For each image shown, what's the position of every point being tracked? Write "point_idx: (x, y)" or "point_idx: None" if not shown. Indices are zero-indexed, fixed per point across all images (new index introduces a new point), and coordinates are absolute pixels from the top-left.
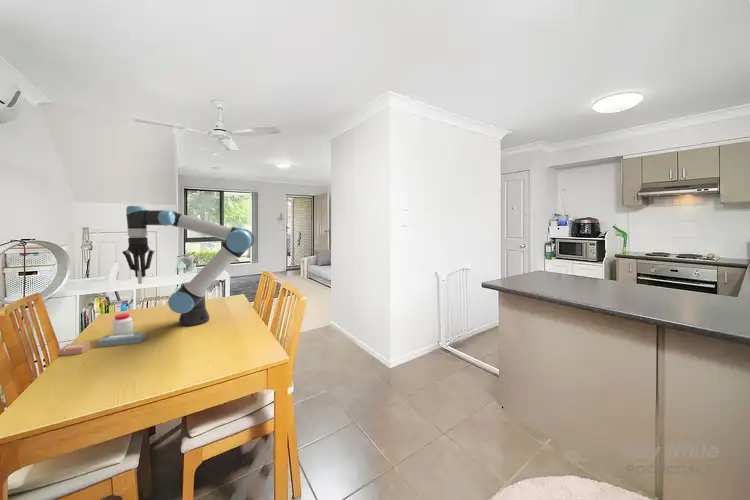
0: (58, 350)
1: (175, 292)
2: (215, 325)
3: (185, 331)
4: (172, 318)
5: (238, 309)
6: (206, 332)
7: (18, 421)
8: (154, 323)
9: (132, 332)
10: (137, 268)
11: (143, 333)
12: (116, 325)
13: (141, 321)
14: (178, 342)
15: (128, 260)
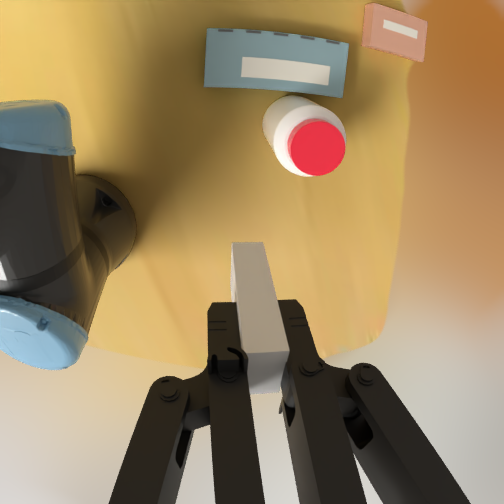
0: (426, 21)
1: None
2: None
3: (77, 118)
4: (182, 276)
5: None
6: (11, 98)
7: None
8: (226, 238)
9: (264, 123)
10: (294, 389)
11: (208, 74)
12: (320, 105)
13: (278, 269)
14: (71, 10)
15: (433, 479)
